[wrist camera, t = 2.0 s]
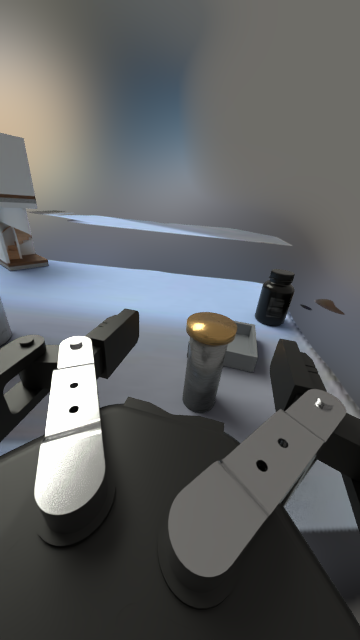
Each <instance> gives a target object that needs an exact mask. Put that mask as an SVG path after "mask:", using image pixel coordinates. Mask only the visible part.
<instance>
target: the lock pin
mask: <svg viewBox="0 0 360 640" xmlns="http://www.w3.org/2000/svg"><path fill="white" fill-rule="evenodd" d="M186 331H187V333H188V335H189V336H190V344H189V352H188V360H187V367H186V375H185V383H184V391H183V402H184V404H185V406H186V407H187V408H189V409H190V410H192V411H194V412H198V413H203V412H207V411H209V410H211V409H212V408H213V406H214V403H215V398H216V394H217V390H218V385H219V381H220V377H221V372H222V368H223V363H224V359H225V355H226V350H227V346H228V344H229V343H231V342H232V341H233V340H234V339H235V336H236V332H237V325H236V324H235V322H234V321H233V320H231V319H230V318H228V317H226V316H223V315H220V314H216V313H210V312H200V313H195V314H193V315H191V316H190V317H189V318H188V319H187V326H186Z"/></svg>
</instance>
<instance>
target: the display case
mask: <svg viewBox="0 0 360 640" xmlns="http://www.w3.org/2000/svg"><path fill="white" fill-rule="evenodd" d="M26 208H33V209H37V204H36V199H35V194H34V189H33V184H32V179H31V174H30V169H29V164H28V159H27V154H26V149H25V143H24V139H23V138H20V137H16V136H11V135H7V134H3V133H0V264H1V265H2V266H4V267H5V268H7V269H8V270H10V271H13V270H21V269H28V268H35V267H42V266H49V264H48V260H47V259H45V258H43V257H41V256H39V255H37V254H35V249H34V244H33V240H32V235H31V230H30V225H29V221H28V216H27V213H26Z"/></svg>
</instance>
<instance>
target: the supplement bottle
mask: <svg viewBox="0 0 360 640" xmlns="http://www.w3.org/2000/svg"><path fill="white" fill-rule="evenodd" d="M269 278H270V280H269V281H266V282H265V283H264V284H263V287H262V290H261V294H260V298H259V301H258V305H257V309H256V313H255V318H256V319H257V320H258V321H259V322H261V323H263V324H266V325H270V326H279V325H282V324H283V323H284V320H285V318H286V315H287V312H288V308H289V306H290V303H291V300H292V297H293V294H294V288H293V286H292V285H291V283H292V282H293V278H294V273H292V272H290V271H286V270H280V269H274V270H272V271H271V275H270V277H269Z"/></svg>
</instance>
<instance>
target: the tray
mask: <svg viewBox="0 0 360 640" xmlns="http://www.w3.org/2000/svg"><path fill="white" fill-rule="evenodd" d="M234 322H235V324H236V325H237V332H236V336H235V339H234V340H233V341H232V342H231V343H229V344H228V346H227V350H226V355H225V359H224V363H223V366H226V367H231V368H235V369H239V370H244V371H248V372H252V373H253V371H254V368H255V365H256V362H257V359H258V354H257V343H256V332H255V325H253V324H248V323H242V322H237V321H234ZM189 344H190V341H189ZM188 352H189V345H188ZM187 357H188V353H187Z"/></svg>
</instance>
